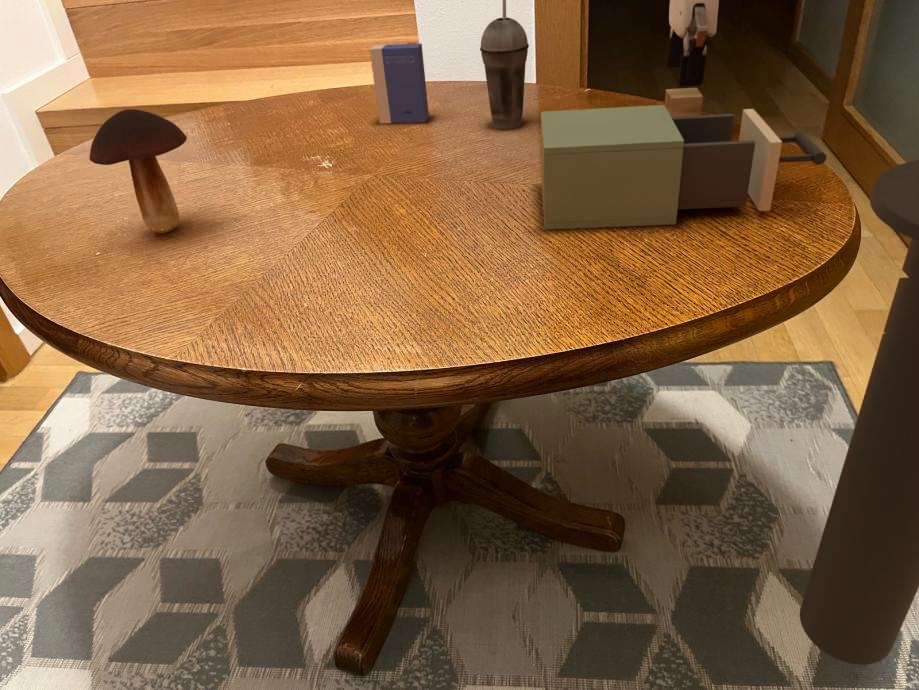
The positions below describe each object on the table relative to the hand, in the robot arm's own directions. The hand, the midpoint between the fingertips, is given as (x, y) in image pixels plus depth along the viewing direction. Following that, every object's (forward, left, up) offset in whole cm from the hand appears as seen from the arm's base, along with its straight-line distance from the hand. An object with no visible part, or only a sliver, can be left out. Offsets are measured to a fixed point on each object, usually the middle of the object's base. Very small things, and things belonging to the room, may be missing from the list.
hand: (683, 75), depth 105 cm
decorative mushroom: (+68, +30, -7) cm, 75 cm away
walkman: (+43, -9, -7) cm, 44 cm away
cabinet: (+14, +28, -7) cm, 32 cm away
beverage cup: (+26, -4, -7) cm, 27 cm away
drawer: (0, +28, -6) cm, 29 cm away
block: (0, 0, -7) cm, 7 cm away
